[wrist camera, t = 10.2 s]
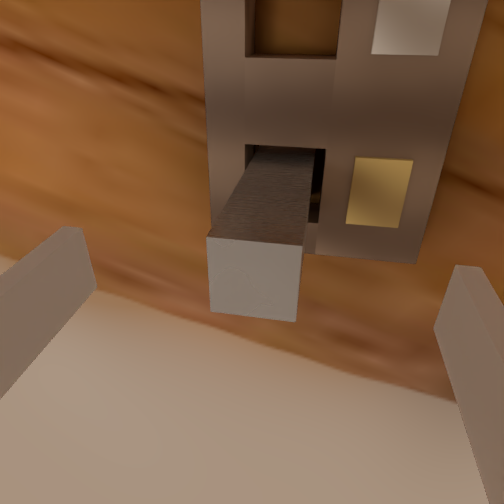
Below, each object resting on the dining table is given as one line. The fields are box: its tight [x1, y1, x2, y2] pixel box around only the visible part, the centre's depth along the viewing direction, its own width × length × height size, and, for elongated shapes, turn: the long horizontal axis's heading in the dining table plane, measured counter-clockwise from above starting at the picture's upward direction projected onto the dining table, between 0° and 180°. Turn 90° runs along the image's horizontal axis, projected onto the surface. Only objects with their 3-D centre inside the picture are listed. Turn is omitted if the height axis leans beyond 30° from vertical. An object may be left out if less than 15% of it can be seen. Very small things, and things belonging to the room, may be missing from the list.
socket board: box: [200, 0, 488, 264], centre depth 21 cm, size 18×13×3 cm
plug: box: [206, 145, 315, 322], centre depth 20 cm, size 3×3×13 cm
